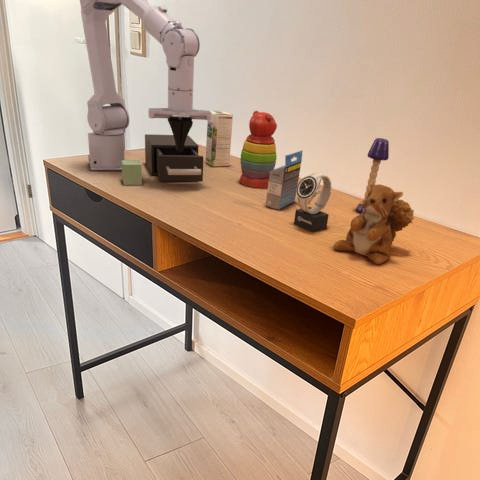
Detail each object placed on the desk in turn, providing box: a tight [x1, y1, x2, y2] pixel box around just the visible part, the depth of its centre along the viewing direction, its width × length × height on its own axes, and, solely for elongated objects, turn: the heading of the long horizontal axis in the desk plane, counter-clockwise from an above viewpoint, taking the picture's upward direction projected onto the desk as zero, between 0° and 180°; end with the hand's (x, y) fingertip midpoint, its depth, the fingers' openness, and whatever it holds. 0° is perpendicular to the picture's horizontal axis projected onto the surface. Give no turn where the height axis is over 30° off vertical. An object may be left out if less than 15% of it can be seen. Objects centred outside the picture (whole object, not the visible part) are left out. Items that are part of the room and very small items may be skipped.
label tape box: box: [265, 150, 303, 210], centre depth 114 cm, size 9×4×12 cm, turn 149°
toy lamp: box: [355, 137, 390, 215], centre depth 113 cm, size 5×5×17 cm
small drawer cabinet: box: [144, 133, 199, 177], centre depth 135 cm, size 13×12×8 cm
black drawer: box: [154, 148, 204, 183], centre depth 126 cm, size 17×11×6 cm, turn 17°
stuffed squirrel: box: [332, 182, 415, 265], centre depth 92 cm, size 10×14×13 cm
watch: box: [293, 172, 332, 233], centre depth 102 cm, size 6×8×11 cm
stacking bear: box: [239, 110, 278, 189], centre depth 127 cm, size 11×10×18 cm
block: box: [121, 159, 143, 186], centre depth 122 cm, size 4×4×5 cm
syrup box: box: [205, 110, 234, 168], centre depth 143 cm, size 6×6×14 cm
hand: (179, 150), depth 119 cm, fingers closed
